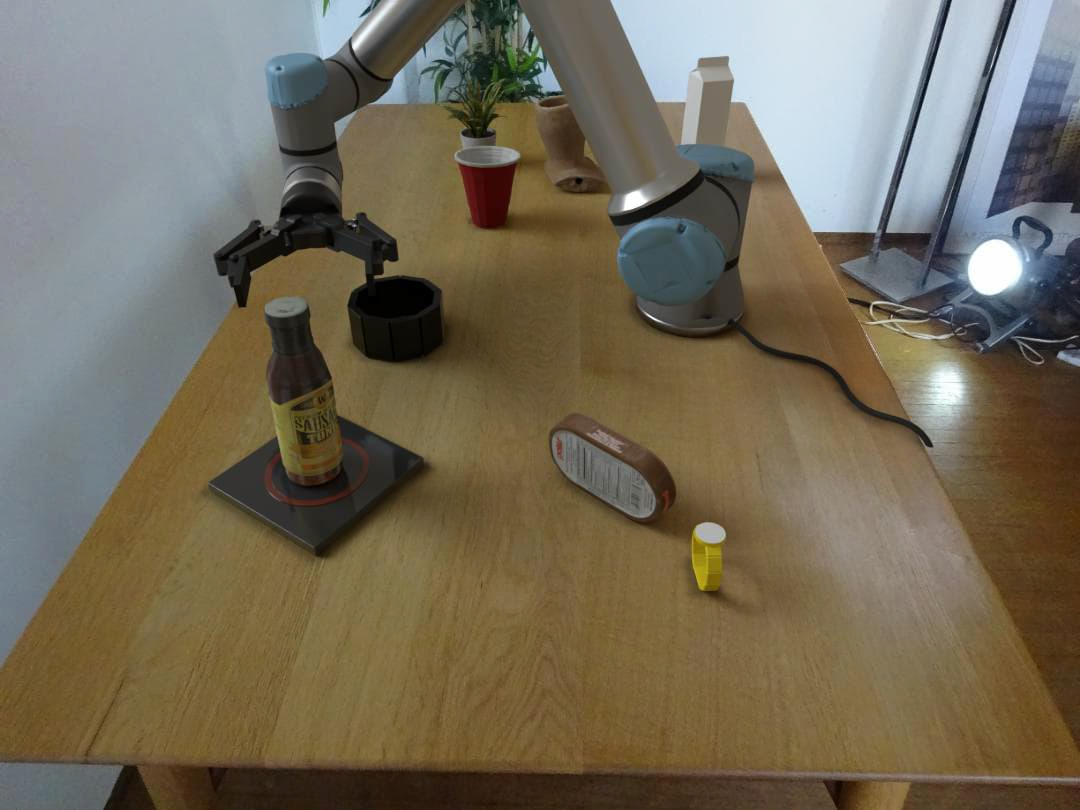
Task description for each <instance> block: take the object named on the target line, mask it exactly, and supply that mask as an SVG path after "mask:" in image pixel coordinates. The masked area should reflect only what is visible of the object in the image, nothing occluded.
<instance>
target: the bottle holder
mask: <svg viewBox="0 0 1080 810" xmlns="http://www.w3.org/2000/svg"><path fill="white" fill-rule="evenodd" d="M374 280H375V296H368V289H367V282H366V281H365V282H364V283H363V284H361V285H360V286H357V287H356V288H354V289H352V291H351V292H350V295H349V297H348V301H347V305H346V308H347V314H348V319H349V325H350V333H351V337H352V338H351V339H352V344H353V346H354V347H355V348H356V349H357V350H358V351H359V352H360V353H362V355H364V357H366V358H368V359H372V360H377V361H378V360H379V361H385V362H389V363H394V362H395V363H400V362H404V361H410V360H415V359H421V358H423V357H426V356H428V355H429V354H430V353H432V352H433V351H435V350H436V349H437V348H439V347H441V346H442V345H443V343H444V339H445V331H446V326H445V315H444V312H445V311H444V301H443V290H442V289H441V288H439V287H438V286H437V285H435V284H434V283H433V282H431V280H429V279H427V278H425V277H420V276H419V277H418V276H411V275H406V274H405V275H404V274H401V275H399V274H395V275H390V276H383V277H377V278H374Z"/></svg>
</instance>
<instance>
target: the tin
mask: <svg viewBox="0 0 1080 810" xmlns="http://www.w3.org/2000/svg"><path fill="white" fill-rule="evenodd" d="M548 447H549V452H550V457H551V459H552V461H553V463H554V464H555V466H556V467H557V469H558V470H559V471H560V473H561V474H562V475H563V476H564V477H565V478H566V479H567V480H568V481H569V482H570V483H572V484H574V485H575V486H576V487H578V488H580V489H581V490H583V491H585V492H586V493H588V494H589V495H591V496H593V497H594V498H596V499H597V500H599V501H600V502H602V503H603V504H606V505H607V506H609V507H610V508H611V509H613V510H615V511H616V512H618V513H620V514H621V515H623V516H625V517H627V518H628V519H631V520H632V521H635V522H638V523H651V522H654V521H656V520H657V519H658V518H660V517H661V516H662V515H663V514H665V512H666V511H667V510H670V509H671V508H672V507H673V506H674V505H675V502H676V499H677V486H676V483H675V480H674V477H673V475H672V472H670V469H669V468H668V467H667V465H665V463H664V462H663V461H662V460H661V459H660V457H659V456H658V455H657V454H655V453H654V452H653V451H652V450H651V449H649V448H647V447H645V446H644V445H642V444H640V443H638V442H636V441H634V440H633V439H631V438H630V437H628V436H625V435H624V434H622V433H620V432H618V431H616V430H615V429H613V428H612V427H610V426H608V425H606V424H604V423H602V422H601V421H599V420H597V419H595V418H594V417H592V416H590V415H588V414H586V413H582V412H570V413H568V414H566V415H565V416H564V417H563V418H562V419H561V420H559V421H558V422H557V423H556V424H555V425H554V426H552V428H551V429H550V431H549V433H548Z"/></svg>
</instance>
